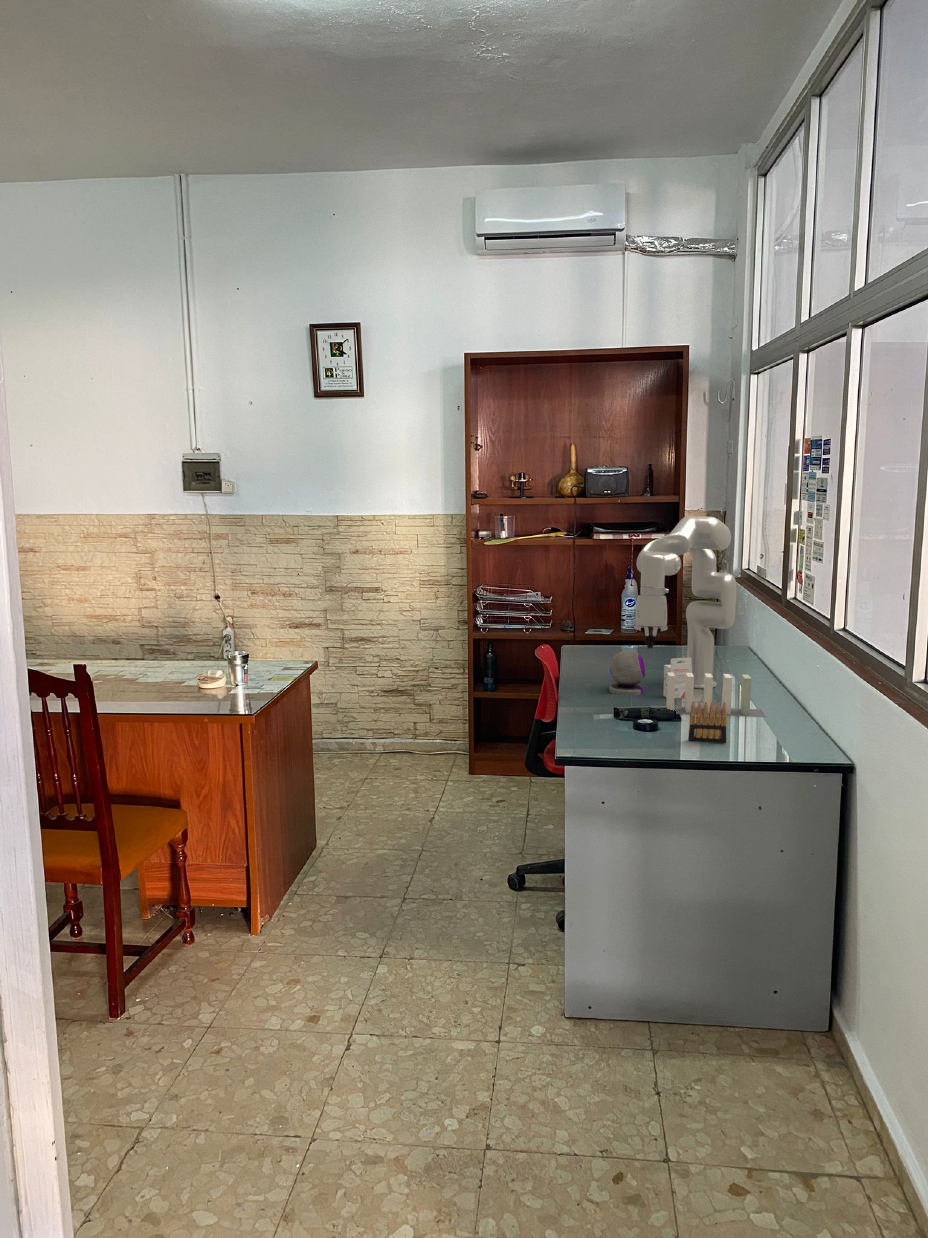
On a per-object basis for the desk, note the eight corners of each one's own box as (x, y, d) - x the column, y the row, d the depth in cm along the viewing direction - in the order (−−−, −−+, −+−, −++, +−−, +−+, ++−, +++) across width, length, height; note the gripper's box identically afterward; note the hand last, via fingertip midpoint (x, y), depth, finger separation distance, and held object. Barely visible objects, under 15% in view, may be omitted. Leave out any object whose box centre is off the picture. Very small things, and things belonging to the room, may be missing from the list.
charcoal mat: (650, 707, 306) (650, 705, 306) (761, 711, 301) (761, 709, 301) (652, 714, 296) (652, 712, 296) (766, 718, 291) (766, 717, 291)
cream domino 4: (724, 714, 295) (725, 677, 293) (721, 709, 301) (723, 673, 299) (730, 714, 295) (732, 678, 293) (727, 709, 300) (729, 674, 299)
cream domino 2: (686, 712, 297) (687, 676, 295) (684, 708, 302) (685, 672, 301) (692, 712, 296) (694, 676, 294) (690, 708, 302) (692, 673, 300)
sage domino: (746, 710, 300) (748, 674, 298) (749, 714, 294) (751, 678, 292) (740, 710, 300) (741, 674, 298) (743, 714, 294) (744, 678, 292)
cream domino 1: (667, 711, 297) (668, 676, 296) (666, 707, 303) (667, 672, 301) (673, 712, 297) (675, 676, 295) (672, 707, 303) (673, 672, 301)
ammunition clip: (725, 741, 266) (727, 701, 264) (726, 743, 264) (728, 703, 262) (688, 739, 268) (689, 700, 266) (688, 741, 266) (690, 701, 264)
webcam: (644, 696, 322) (646, 654, 320) (608, 694, 324) (609, 653, 322) (645, 688, 335) (646, 648, 332) (609, 686, 337) (611, 646, 335)
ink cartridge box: (684, 695, 323) (685, 655, 321) (691, 698, 318) (693, 657, 316) (662, 697, 321) (663, 656, 318) (669, 700, 316) (670, 658, 314)
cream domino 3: (705, 713, 296) (706, 677, 294) (703, 708, 302) (704, 673, 300) (711, 713, 295) (713, 677, 294) (709, 709, 301) (710, 673, 300)
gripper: (674, 591, 298) (672, 646, 300) (628, 590, 300) (626, 645, 303) (676, 593, 291) (674, 650, 293) (629, 592, 293) (627, 648, 295)
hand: (649, 647), depth 298 cm, fingers closed
